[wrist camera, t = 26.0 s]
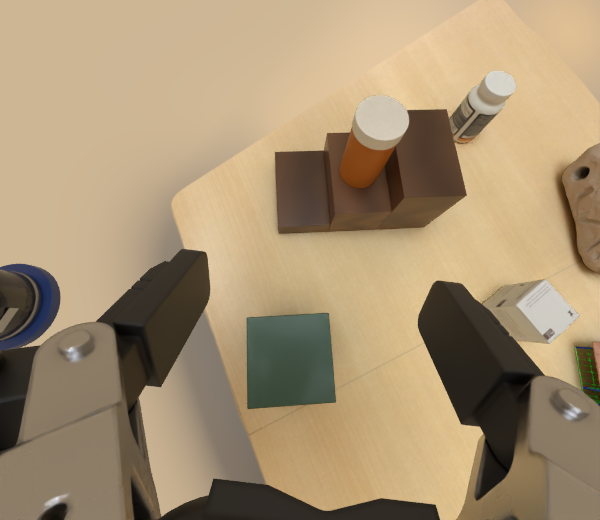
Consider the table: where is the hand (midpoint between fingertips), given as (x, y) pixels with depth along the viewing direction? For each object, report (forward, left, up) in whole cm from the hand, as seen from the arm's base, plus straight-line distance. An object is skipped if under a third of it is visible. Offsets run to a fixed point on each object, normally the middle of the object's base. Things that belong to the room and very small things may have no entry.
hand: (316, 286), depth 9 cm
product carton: (+32, -1, -31) cm, 44 cm away
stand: (-1, -4, -31) cm, 31 cm away
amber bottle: (+10, +20, -24) cm, 32 cm away
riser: (+10, +20, -31) cm, 38 cm away
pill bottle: (+32, +32, -31) cm, 54 cm away
